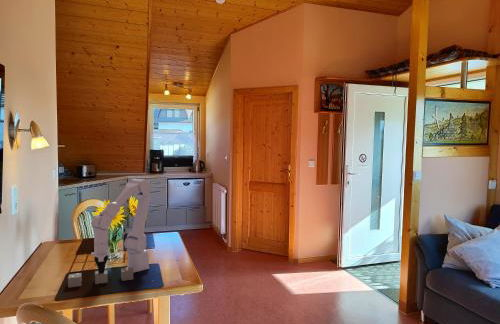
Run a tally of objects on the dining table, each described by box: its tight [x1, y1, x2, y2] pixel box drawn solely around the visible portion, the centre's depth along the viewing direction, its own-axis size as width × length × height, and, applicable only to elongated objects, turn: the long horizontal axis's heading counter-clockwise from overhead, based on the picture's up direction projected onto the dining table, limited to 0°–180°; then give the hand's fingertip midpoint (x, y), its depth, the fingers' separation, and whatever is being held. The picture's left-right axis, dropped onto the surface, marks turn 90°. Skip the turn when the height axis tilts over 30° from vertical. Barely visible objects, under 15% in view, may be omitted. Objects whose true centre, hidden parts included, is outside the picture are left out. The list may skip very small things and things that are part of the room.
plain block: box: [94, 269, 109, 285], centre depth 161 cm, size 5×5×4 cm
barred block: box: [120, 267, 134, 282], centre depth 165 cm, size 5×5×4 cm
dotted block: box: [67, 272, 83, 289], centre depth 157 cm, size 5×5×4 cm
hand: (101, 272), depth 161 cm, fingers closed, pressing on plain block
